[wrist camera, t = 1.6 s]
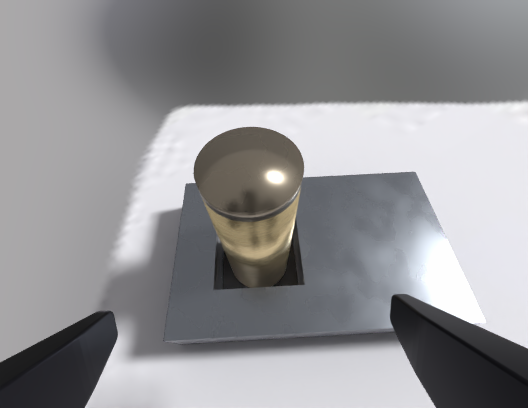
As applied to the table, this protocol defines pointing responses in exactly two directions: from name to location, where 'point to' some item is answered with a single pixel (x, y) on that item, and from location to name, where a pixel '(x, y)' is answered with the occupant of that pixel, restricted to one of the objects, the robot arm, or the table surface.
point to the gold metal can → (252, 199)
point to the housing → (322, 266)
